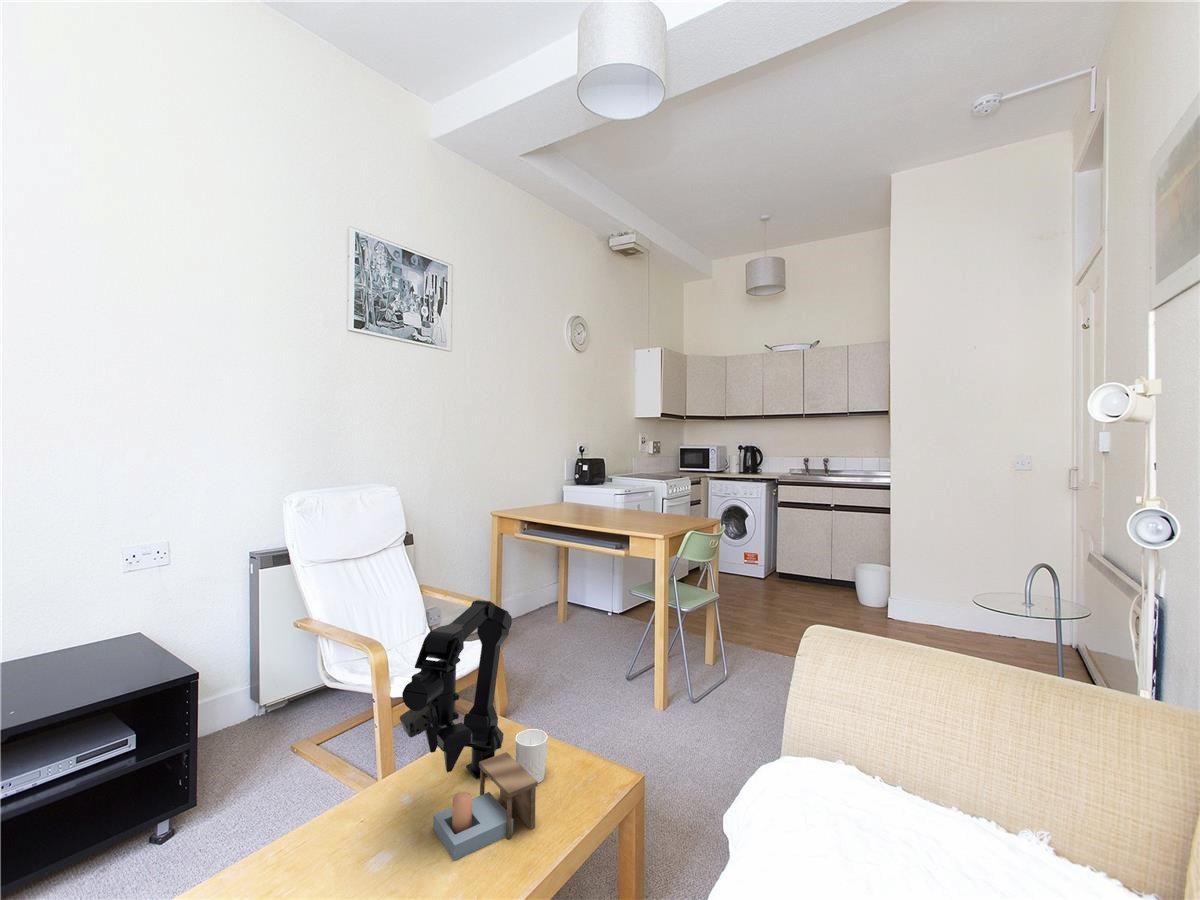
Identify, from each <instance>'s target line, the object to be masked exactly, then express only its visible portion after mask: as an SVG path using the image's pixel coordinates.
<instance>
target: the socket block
mask: <svg viewBox="0 0 1200 900" xmlns="http://www.w3.org/2000/svg"><path fill="white" fill-rule="evenodd" d="M432 819H433V821H432V822H433V824H432V825H433V831H434V832H435V834H436V835H437V837H438V838H439V840H440V841H441V843H442V844H443V846H444V847H445V849H446V850H447V852H448V853H449V855H450V856H451V858H452V859H453V861H457V860H460V859H462V858H463V857H466V856H468V855H469V854H471V853H474V852H476V851H478V850H480V849H482V848H484V847H487V846H488V845H491V844H492V843H495V842H497V841H499V840H501V839H503V838H505V837H506V832H507V809H505V807H503V806H502V804H501V803H500V802H499V801H498V800H497V799H496V798H495V796H494V795H493V794H492V793H491V792H490V791H488V792H486V793H485V792H484V794H483V795H480V794H479V795H478V796H475V797H472V827H471V828H469V829H467V830H464V831H462V832H460V833H458V834H454V833H453V832H452V806H451V807H448V808H446V809H444V810H441V811H439V812H436V813H434V814H433V817H432ZM513 833H514V818H513V817H512V823H511V835H512V834H513Z"/></svg>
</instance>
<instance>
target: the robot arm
mask: <svg viewBox="0 0 1200 900" xmlns="http://www.w3.org/2000/svg"><path fill="white" fill-rule="evenodd" d="M512 624H513V618H512V615H510V613H509V611H508V610H506V609H503V608H501V607H500V606H498V605H496V604H495V603H494V602H492V601H491V600H480V599H476V600H474V601H472V602H471V605H470V606H469V607H468V608H467V609H465V611H463V612H462V613H461V614H460V615H459V616H458V617H456V618H455V619H454V620H453V621H452V622H450V623H449V624H445V625H440V626H438V627H436V628H433V629H431V631H429V632H428V634H427V635H426V636H425V637H424V639H423V642H422V645H421V648H420V651H419V653H418V657H417V660H416V661H415V665H414V669H418V670H420V671H419V672H418V673H417V672H416V673H414V674H413V675H412V676H411V681H409V682H408V683H407V684H406V685H405V686H404V688H403V691H402V695H401V696H402V701H403V703H404V705H405V706H406V707H407V708H408V710H407V711H405V712H404V713H403V714H401V715H400V716H399V721H400V723H401V725H402V728H403V731H404V732H405V734H407V736H408V737H409V738H414V737H416V736H418V735H420V734H422V733H423V732H424V733H425V737H426V741H427V744H428V749H429V751H430V753H431V754H433V753H435V752H437V748H439V749H440V750H441V751H442V752H443V756H444V764H445V765H444V766H445V770H446V773H450V772H453V769H454V768H455V766H456V764H457V762H458V759H459V758H460V755H461V754H462V752H463V750H464V749H465V747H468V748H471V763H468V764H466V765H465V768H466V769H467V770H468V772H469V773H470V774H471V775H472V776H473V778H474V779H476V780H479V779H480V767H479V762H481V761H483V760H486V759H489V758H491V757H494V756H496V755H495V754H496V753H495V752H496V751H497V750H499V749H500V750H501V748H502V747H503V745H502V743H503V741H504V732H503V731H502V730H501V729H500V728H499V726H498V725H499V724H498V722H499V717H498V716H499V715H498V714H497V712H496V709H495V707H494V702H495V693H496V686H497V677H498V670H499V663H500V662H499V661H500V656H501V655H500V654H501V646H502V644H503V643H504V642H505V640H506V639H507V638H508V636H509V635H510V634H509V633H510V629H511V628H512ZM475 631H476V632H477V633H476V634H477V636H478V639H479V641H480V644H481V648H480V656H479V662H478V663H479V664H478V669H477V671H478V672H477V679H476V684H475V692H474V698H473V706H472V707H471V708H470V710H469V711H468V712H467V713H465V714H464V717H463V722H458V723H456V724H455V723H454V720H458V719H460V717H459V716H460V715H459V714H460V713H459V712H457V711H456V701H458V700H460V695H459V693H457V692H456V690H457V689H456V688H457V687H456V686H457V684H456V683H457V682H456V681H457V665H458V664H459V663H460V662H461V658H460V654H461V653H462V651H463V650H464V648H465V645H464V642H465V641H466V640H467V638H469V636H471V634H473V633H474V632H475ZM427 658H429V659H427ZM432 659H437V660H432ZM485 777H488V776H487V775H486V774H485Z"/></svg>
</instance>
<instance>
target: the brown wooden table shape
mask: <svg viewBox="0 0 1200 900" xmlns="http://www.w3.org/2000/svg"><path fill="white" fill-rule="evenodd" d="M479 767H480V778H479V779H480V780H479V787H480V788H479V796H480V795H483V794H485V787H486V786H485V781H486V779H485V778H486V777H488V778H489V779H490V780H491V781H492V783H494V784H495V786H496V787H497V788H498V789H499V796H500V798H502V800H503V801H504V802H505V803H506V811H507V832H506V838H505V839H507V840H510V839H512V834H511V823H512V818H513V817H512V816H513V815H512V814H513V811H514V813H515V814H516V815H517V817H519V818H520V820H522V822H523V823H524V824H525V825H526V827H528V829H529V830H533V829H535V828H536V795H537V794H536V791H537V789H536V787H538V785H539V783H538V781H537V780H536V779H535V778H534V777H533V776H532V775H530V774H529V773H528V772H527V771H526V770H525V769H524V768H523V767H522V766H521V765H520V764H519V763H518V762H517V761H516V759H515V758H513V757H512V756H511V755H510V754H509V753H508V752H507V751H506V752H502V753H500V754H496V755H495V756H494V757H491V758H489V759H486V760H483V761H481V762H479ZM485 774H486V775H487V776H485Z"/></svg>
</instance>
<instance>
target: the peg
mask: <svg viewBox="0 0 1200 900" xmlns="http://www.w3.org/2000/svg"><path fill="white" fill-rule="evenodd" d="M472 799H473V794H472V793H471V792H468V791H460V792H457V793H456V794H454V795H453V796H452V803H451V804H452V806H451V807H452V832H453V833H454V834H458V833H460V832H462V831H464V830H467V829H469V828H471V827H472Z"/></svg>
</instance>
